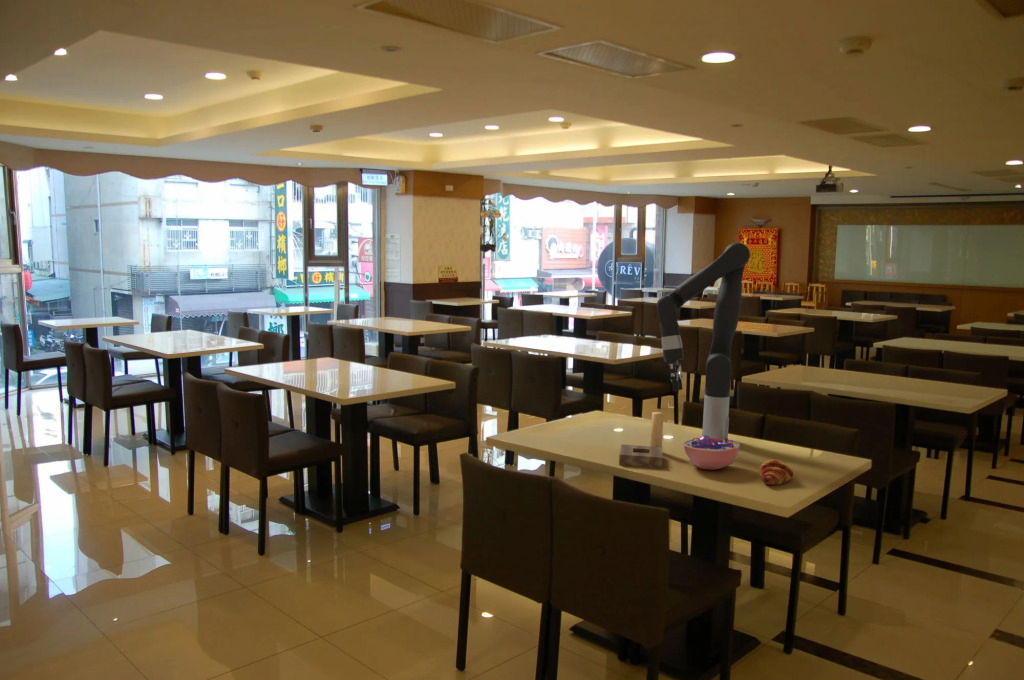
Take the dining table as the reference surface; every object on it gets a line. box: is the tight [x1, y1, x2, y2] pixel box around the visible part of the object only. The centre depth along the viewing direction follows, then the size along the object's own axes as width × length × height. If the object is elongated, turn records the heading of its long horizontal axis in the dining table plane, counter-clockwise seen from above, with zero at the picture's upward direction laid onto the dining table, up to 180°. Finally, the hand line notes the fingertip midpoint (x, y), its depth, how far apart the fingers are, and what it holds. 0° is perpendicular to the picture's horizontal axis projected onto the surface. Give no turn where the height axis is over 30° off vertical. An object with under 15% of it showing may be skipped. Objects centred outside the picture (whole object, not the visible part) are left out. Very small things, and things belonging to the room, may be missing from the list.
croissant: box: [759, 459, 794, 486], centre depth 242 cm, size 21×10×8 cm, turn 149°
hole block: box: [618, 444, 663, 469], centre depth 259 cm, size 14×14×4 cm
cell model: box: [682, 435, 741, 471], centre depth 253 cm, size 17×20×11 cm
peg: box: [650, 411, 664, 448], centre depth 271 cm, size 4×4×14 cm
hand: (677, 390), depth 289 cm, fingers open, 8 cm apart
